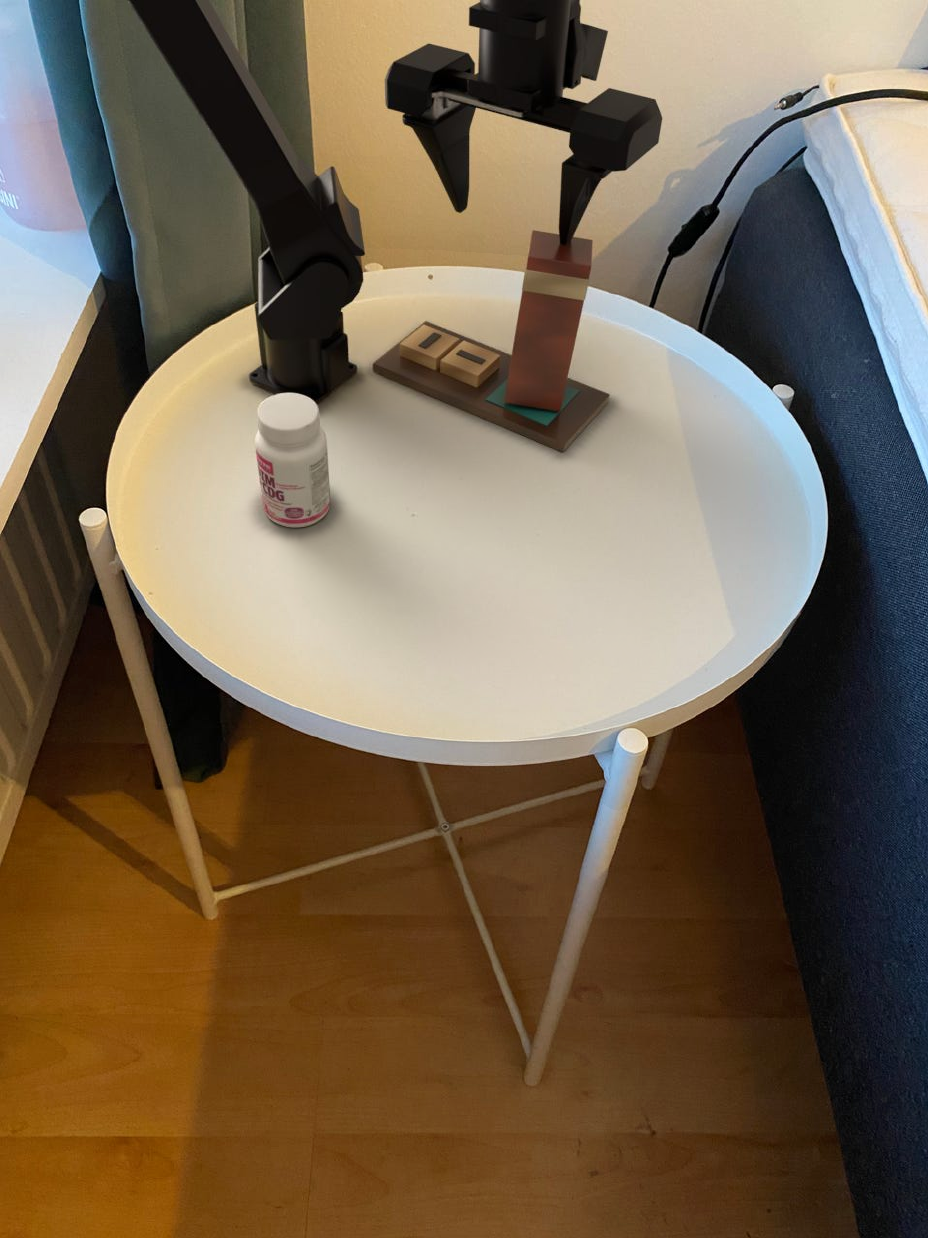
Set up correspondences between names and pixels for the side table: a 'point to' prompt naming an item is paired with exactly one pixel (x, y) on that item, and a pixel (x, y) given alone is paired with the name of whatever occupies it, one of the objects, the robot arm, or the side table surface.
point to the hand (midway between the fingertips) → (512, 226)
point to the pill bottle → (292, 460)
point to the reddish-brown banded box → (548, 320)
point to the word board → (484, 385)
